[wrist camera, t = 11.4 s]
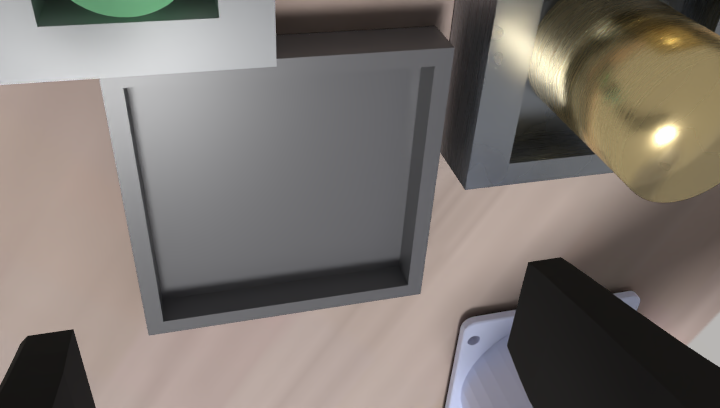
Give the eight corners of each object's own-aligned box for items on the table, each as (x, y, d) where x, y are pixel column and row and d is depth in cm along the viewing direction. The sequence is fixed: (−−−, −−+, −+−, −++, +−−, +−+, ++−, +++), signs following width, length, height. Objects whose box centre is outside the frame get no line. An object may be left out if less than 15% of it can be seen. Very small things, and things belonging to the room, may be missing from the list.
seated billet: (631, 102, 22) (739, 193, 18) (515, 114, 21) (603, 211, 17) (670, -24, 19) (806, 47, 15) (542, -19, 18) (651, 59, 14)
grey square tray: (407, 265, 25) (420, 294, 23) (147, 302, 22) (148, 335, 21) (435, 25, 19) (454, 47, 18) (100, 44, 17) (97, 70, 16)
